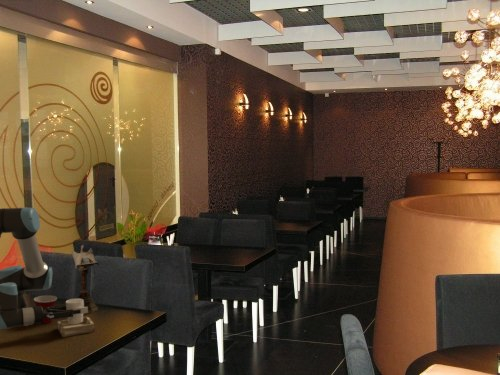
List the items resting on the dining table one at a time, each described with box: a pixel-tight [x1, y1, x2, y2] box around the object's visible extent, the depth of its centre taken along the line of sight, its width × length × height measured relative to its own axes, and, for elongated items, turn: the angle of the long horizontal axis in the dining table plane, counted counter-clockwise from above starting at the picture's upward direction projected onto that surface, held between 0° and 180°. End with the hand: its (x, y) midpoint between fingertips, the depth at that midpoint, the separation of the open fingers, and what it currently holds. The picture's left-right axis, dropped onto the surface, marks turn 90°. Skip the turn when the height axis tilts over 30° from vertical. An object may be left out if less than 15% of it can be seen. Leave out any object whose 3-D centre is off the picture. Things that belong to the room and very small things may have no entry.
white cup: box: [65, 298, 84, 324], centre depth 247 cm, size 8×8×10 cm
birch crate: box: [56, 316, 95, 338], centre depth 247 cm, size 14×14×4 cm
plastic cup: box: [33, 295, 58, 325], centre depth 261 cm, size 11×11×12 cm
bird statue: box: [71, 244, 100, 315], centre depth 275 cm, size 17×13×35 cm
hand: (85, 307), depth 249 cm, fingers closed on white cup, 8 cm apart
